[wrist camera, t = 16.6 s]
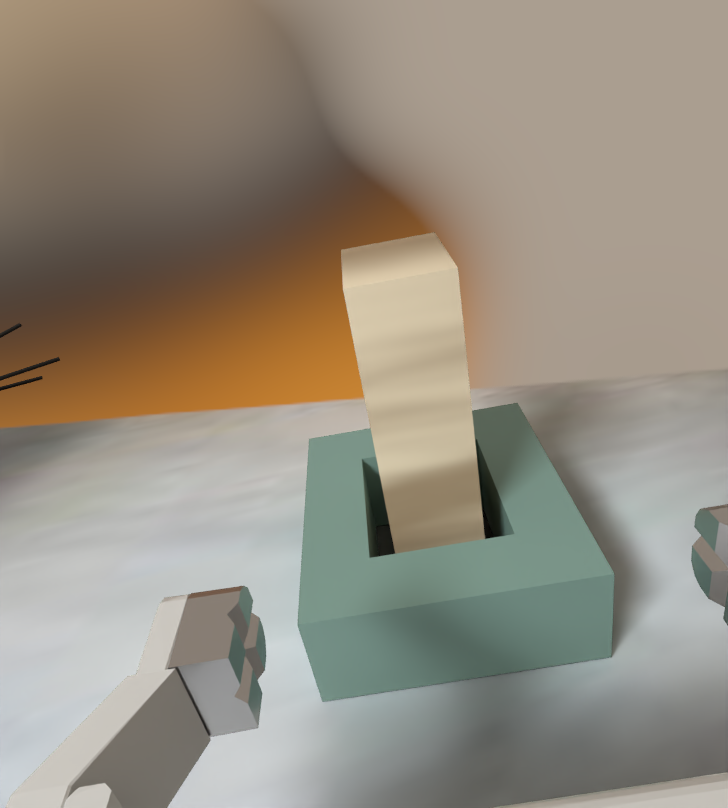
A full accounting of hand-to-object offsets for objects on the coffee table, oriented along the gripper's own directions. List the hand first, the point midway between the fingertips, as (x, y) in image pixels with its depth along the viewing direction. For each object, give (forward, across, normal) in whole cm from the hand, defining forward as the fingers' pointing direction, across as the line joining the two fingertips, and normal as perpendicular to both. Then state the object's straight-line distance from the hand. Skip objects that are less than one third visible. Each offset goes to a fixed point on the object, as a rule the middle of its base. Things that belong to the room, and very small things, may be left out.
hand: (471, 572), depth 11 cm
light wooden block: (+9, 0, +9) cm, 13 cm away
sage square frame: (+9, 0, +9) cm, 13 cm away
